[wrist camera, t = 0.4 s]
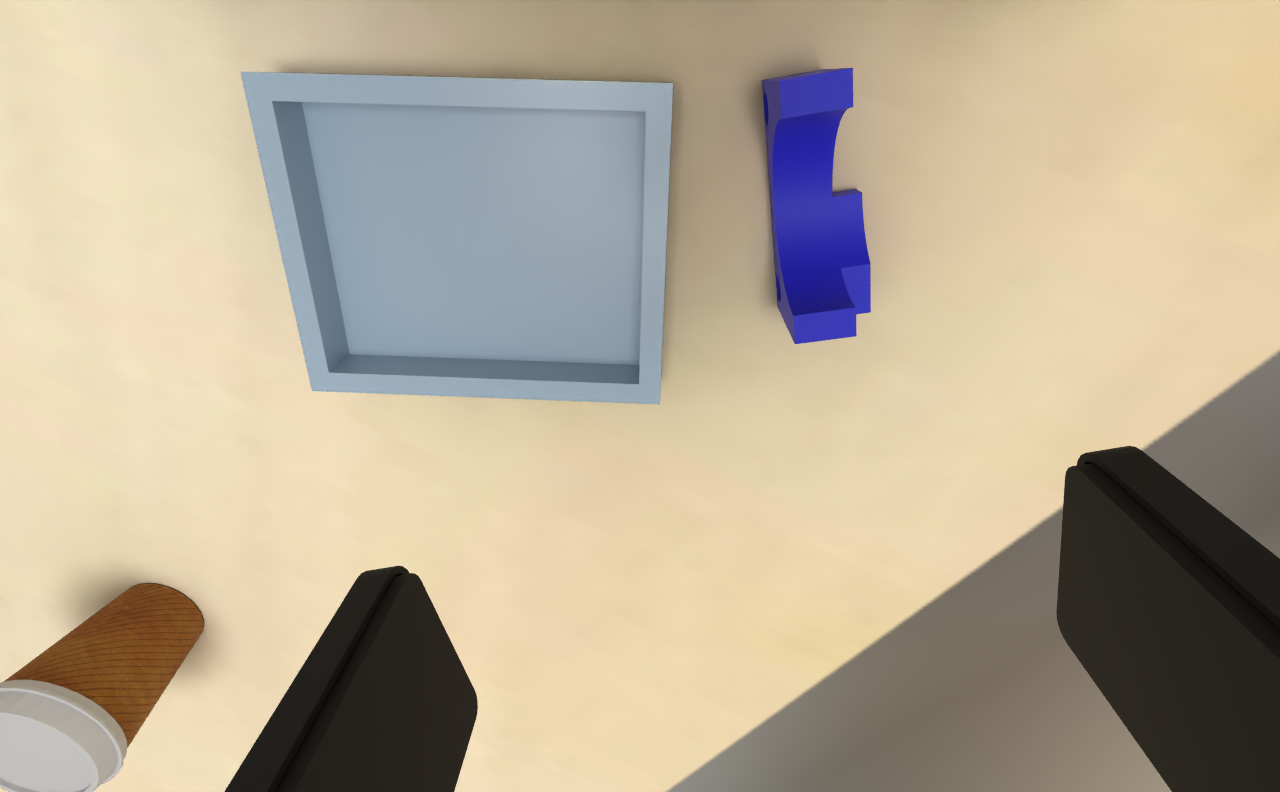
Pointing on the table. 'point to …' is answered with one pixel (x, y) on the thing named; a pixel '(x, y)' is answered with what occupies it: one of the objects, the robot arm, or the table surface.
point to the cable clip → (814, 208)
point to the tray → (471, 231)
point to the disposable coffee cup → (93, 692)
